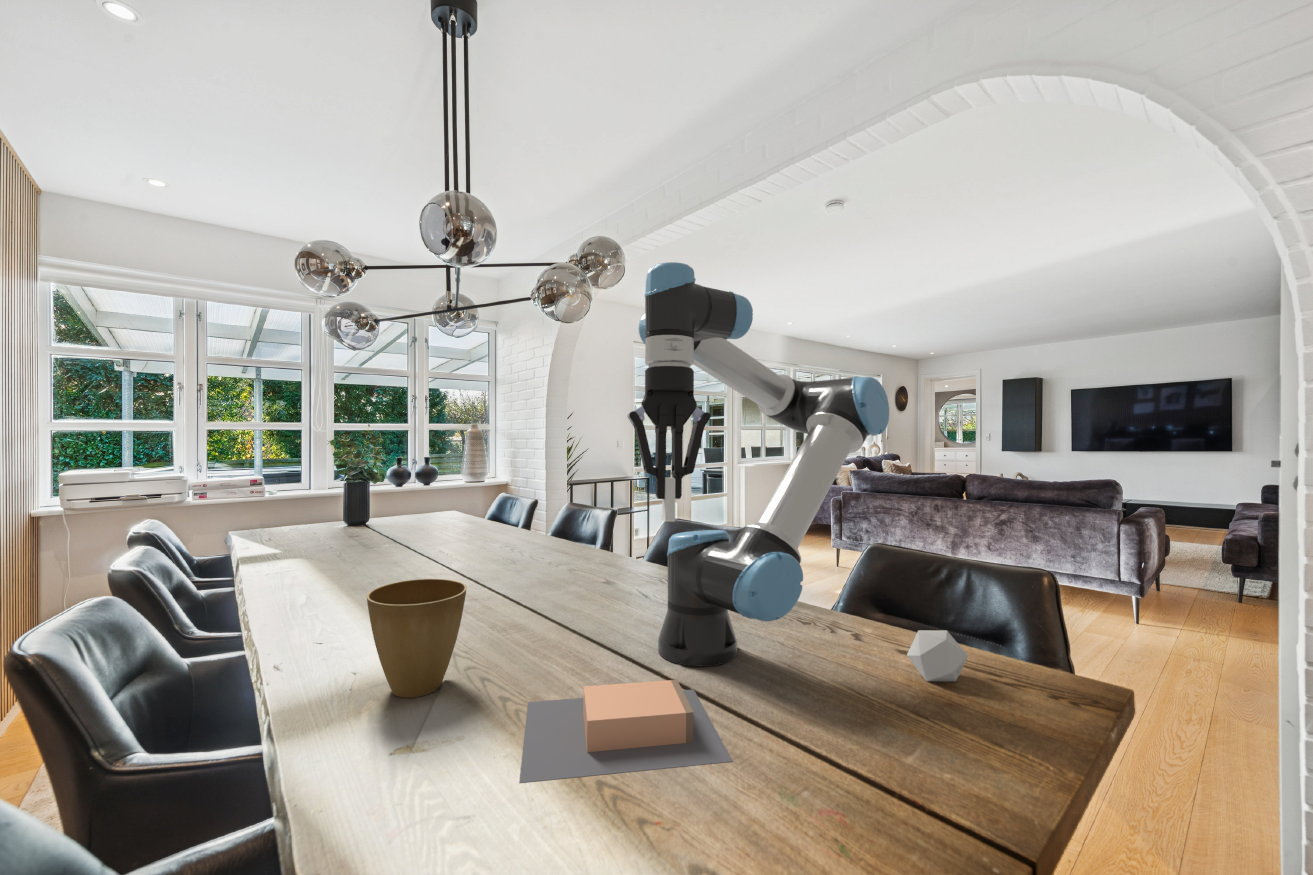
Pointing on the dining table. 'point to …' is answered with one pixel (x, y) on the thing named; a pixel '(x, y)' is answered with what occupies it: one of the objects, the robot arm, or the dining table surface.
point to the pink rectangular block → (636, 715)
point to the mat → (563, 750)
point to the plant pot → (416, 631)
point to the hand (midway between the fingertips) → (668, 520)
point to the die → (937, 655)
